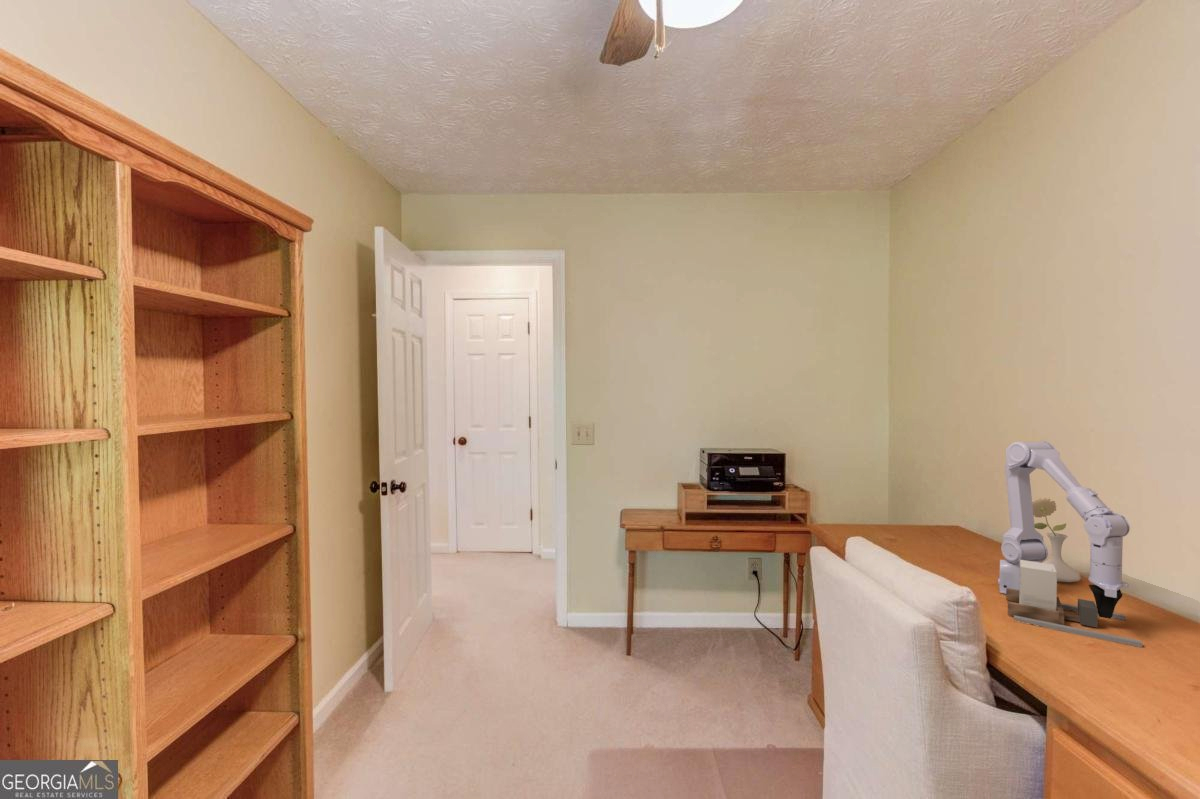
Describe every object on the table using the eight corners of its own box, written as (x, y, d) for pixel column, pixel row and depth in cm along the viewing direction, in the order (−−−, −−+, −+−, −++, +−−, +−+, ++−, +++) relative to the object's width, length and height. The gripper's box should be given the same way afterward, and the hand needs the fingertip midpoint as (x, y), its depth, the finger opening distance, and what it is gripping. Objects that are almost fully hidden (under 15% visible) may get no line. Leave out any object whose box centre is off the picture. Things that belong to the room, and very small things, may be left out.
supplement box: (1054, 611, 140) (1055, 564, 139) (1056, 621, 134) (1057, 571, 133) (1018, 604, 144) (1019, 558, 144) (1019, 613, 138) (1020, 566, 138)
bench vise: (1007, 614, 137) (1008, 597, 136) (1006, 598, 147) (1006, 582, 147) (1099, 632, 126) (1100, 614, 126) (1091, 614, 137) (1091, 597, 137)
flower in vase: (1076, 577, 165) (1077, 497, 164) (1084, 588, 155) (1086, 504, 155) (1023, 569, 172) (1024, 493, 171) (1028, 580, 162) (1029, 499, 162)
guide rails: (1013, 621, 133) (1013, 617, 133) (1010, 597, 149) (1011, 593, 149) (1142, 647, 120) (1142, 643, 120) (1124, 618, 135) (1124, 614, 135)
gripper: (1135, 574, 122) (1134, 632, 122) (1122, 558, 134) (1121, 611, 134) (1093, 568, 126) (1092, 624, 126) (1084, 552, 138) (1083, 604, 138)
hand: (1104, 616), depth 130 cm, fingers closed, pressing on bench vise
